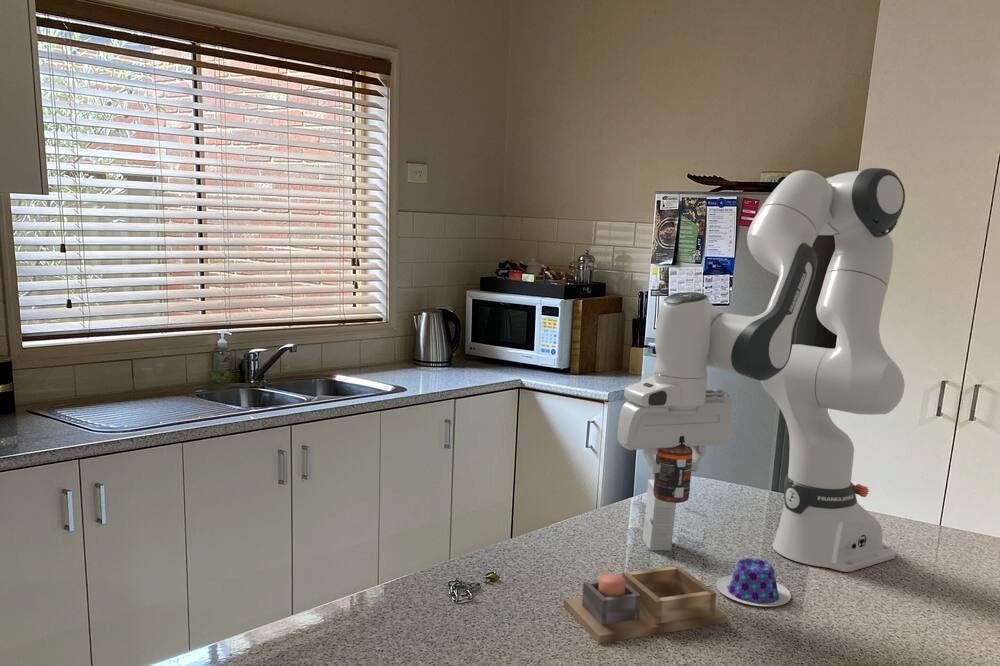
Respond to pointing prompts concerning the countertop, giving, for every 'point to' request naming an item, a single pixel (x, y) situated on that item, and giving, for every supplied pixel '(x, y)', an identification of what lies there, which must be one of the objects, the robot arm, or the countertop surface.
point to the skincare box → (658, 521)
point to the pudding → (754, 584)
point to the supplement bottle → (673, 473)
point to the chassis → (646, 605)
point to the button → (611, 585)
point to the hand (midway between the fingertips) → (672, 471)
